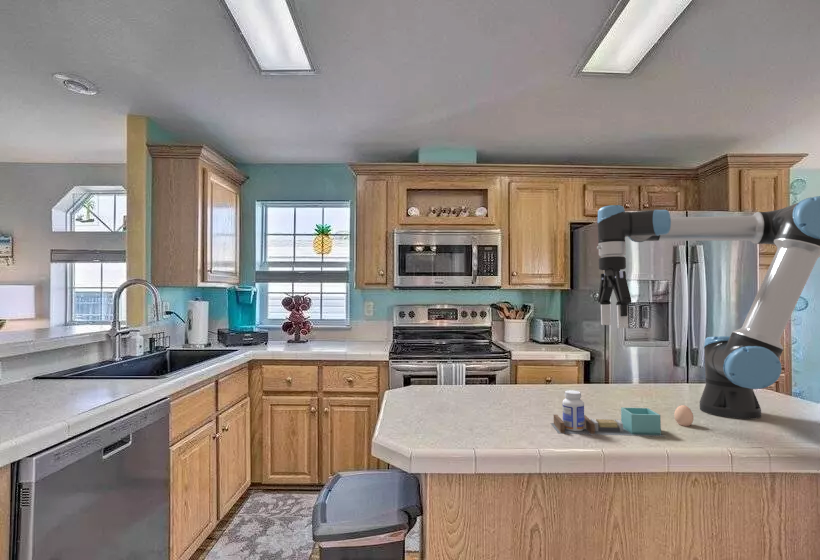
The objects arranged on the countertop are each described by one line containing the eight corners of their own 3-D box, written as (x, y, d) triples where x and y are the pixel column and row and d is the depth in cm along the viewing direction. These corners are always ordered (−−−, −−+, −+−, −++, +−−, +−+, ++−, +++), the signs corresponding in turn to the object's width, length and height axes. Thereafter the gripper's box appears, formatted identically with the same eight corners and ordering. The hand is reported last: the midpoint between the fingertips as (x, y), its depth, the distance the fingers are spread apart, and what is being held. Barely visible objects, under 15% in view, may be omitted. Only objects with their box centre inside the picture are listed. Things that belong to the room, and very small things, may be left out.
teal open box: (648, 426, 116) (648, 408, 116) (660, 435, 109) (660, 415, 109) (621, 426, 117) (621, 407, 117) (631, 434, 110) (631, 414, 110)
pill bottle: (582, 426, 117) (581, 390, 117) (586, 432, 111) (585, 394, 112) (561, 425, 118) (560, 389, 118) (564, 431, 112) (563, 393, 113)
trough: (585, 424, 118) (585, 415, 118) (594, 433, 110) (594, 423, 110) (553, 423, 119) (553, 414, 119) (560, 432, 111) (560, 422, 111)
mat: (648, 427, 117) (648, 425, 117) (664, 438, 108) (664, 436, 108) (550, 424, 120) (550, 423, 120) (558, 434, 111) (558, 433, 111)
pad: (613, 424, 115) (613, 419, 115) (617, 427, 112) (617, 422, 112) (596, 423, 115) (596, 419, 116) (599, 427, 112) (599, 422, 113)
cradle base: (618, 427, 115) (617, 419, 115) (623, 431, 112) (623, 423, 112) (590, 427, 116) (590, 418, 116) (595, 431, 112) (594, 422, 112)
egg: (696, 429, 115) (695, 407, 115) (677, 427, 116) (676, 406, 117) (691, 424, 119) (690, 403, 119) (672, 423, 121) (672, 402, 121)
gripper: (586, 260, 145) (588, 323, 144) (614, 252, 120) (617, 329, 119) (609, 260, 144) (611, 323, 143) (642, 252, 119) (645, 329, 118)
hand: (614, 326), depth 131 cm, fingers open, 13 cm apart
